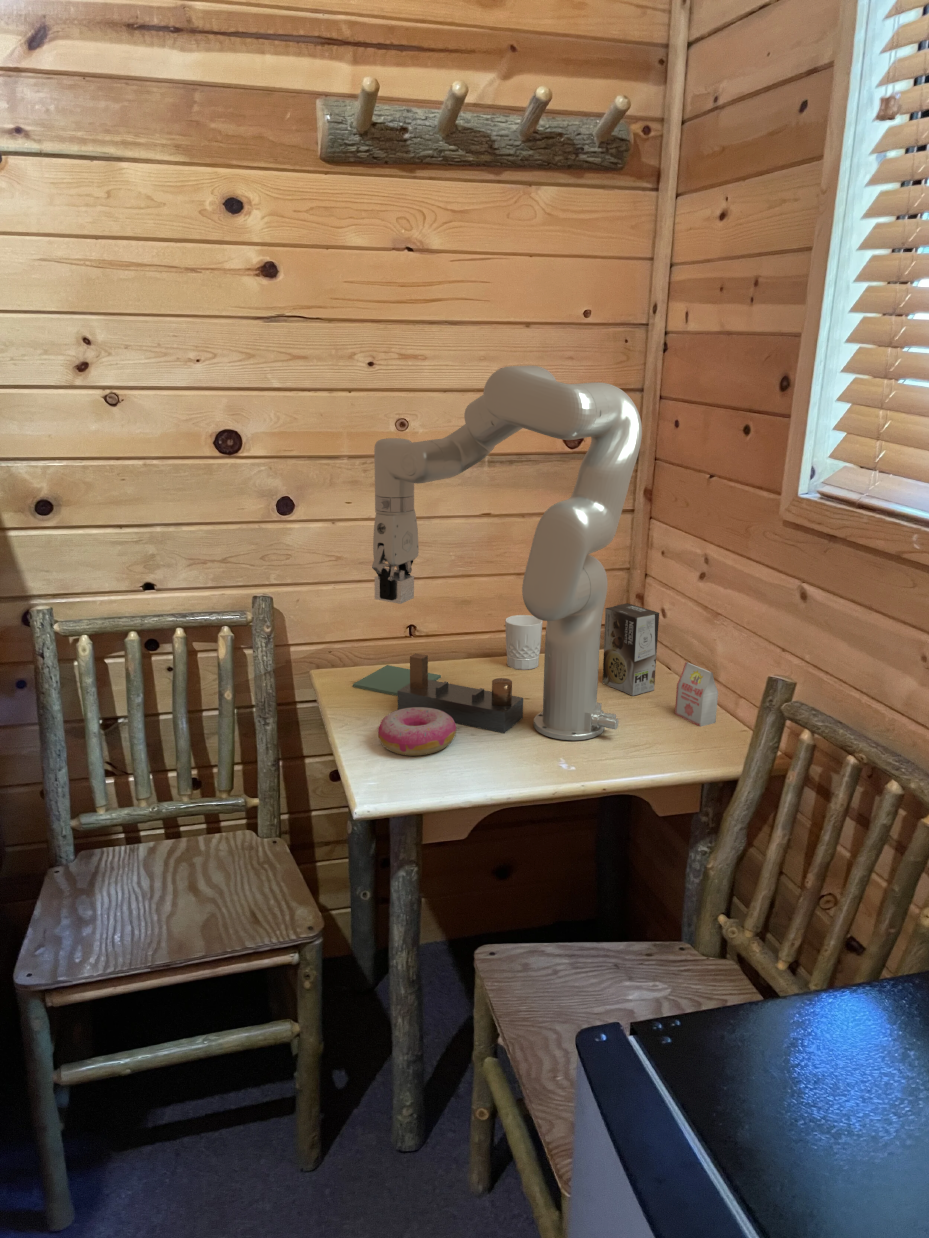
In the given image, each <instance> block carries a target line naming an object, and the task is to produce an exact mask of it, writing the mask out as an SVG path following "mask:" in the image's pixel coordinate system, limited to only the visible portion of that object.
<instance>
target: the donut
mask: <svg viewBox="0 0 929 1238" xmlns="http://www.w3.org/2000/svg"><path fill="white" fill-rule="evenodd" d="M377 729H378V730H377V731H378V732H377V734H378V735H377V736H378V739H379V741H380V743H381V745H382V746H383V747H384V748H385V749H386V750H388V751H390V752H392V753H394V754H398V755H402V756H408V757H409V756H410V757H411V756H412V757H414V756H419V757H420V756H426V755H430V754H434V753H437V752H439V751H441V750H443V749H445V748H446V747H447V746H449V745H450V744H451V743H452V742H453V740H454V738H455V737H456V735H457V734H456V733H457V723H455V722H454V720H453V718H452V717H451V716H450V715H448V714H447V713H445V712H443V711H441V710H437V709H433V708H424V707H413V708H404V709H400V710H398V709H396V710H394V711H392V712H390V713H388V714H386V716H384V717H383V718H382V719H381V721H380V724H379V726H378V728H377Z"/></svg>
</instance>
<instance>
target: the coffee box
mask: <svg viewBox="0 0 929 1238" xmlns="http://www.w3.org/2000/svg"><path fill="white" fill-rule="evenodd" d="M604 608H605V610H604V612H605V613H604V632H603V634H604V635H603V636H604V638H603V659H602V660H603V661H602V662H603V664H602V666H603V667H602V683H601V684H603V685H606V686H608V687H611V688H614V689H616V690H618V691H621V692H623V693H625V694H628V695H631V696H632V697H633V696H637V695H641V694H646V693H648V692H652V691H654V690H655V683H656V667H657V653H658V637H659V636H658V635H659V623H660V621H659V620H660V612H659V611H655V610H651V609H649V608H645V607H641V606H638V605H636V604H635V605H634V604H631V603H628V602H627V603H622V604H617V605H613V606H609V607H604Z"/></svg>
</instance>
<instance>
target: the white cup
mask: <svg viewBox="0 0 929 1238" xmlns="http://www.w3.org/2000/svg"><path fill="white" fill-rule="evenodd" d="M543 623H544V622H543V620H540V619H538V618H536V617H534V616H533V615H526V614H518V615H517V614H516V615H511V616H508V617H506V618H505V625H504V626H505V648H506V649H505V650H506V665H507V666H508V667H509V668H512V669H513V670H514V669H515V670H520V671H524V670H525V671H526V670H533V669H535V668H538V667H539V662H540V660H539V659H540V655H541V646H542V634H543Z"/></svg>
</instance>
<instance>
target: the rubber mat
mask: <svg viewBox="0 0 929 1238" xmlns="http://www.w3.org/2000/svg"><path fill="white" fill-rule="evenodd" d="M441 678H442V675H441V674H437V673H433V672H428V680H434V681H439V680H440V679H441ZM408 684H410V668H405V667H401V666H400V667H399V666H394V665H389V664H387V665H385V666H383V667H381V668H380V669H378V670H375V671H374V672H372V673H370V674H368V675H366V676H364V677H362V678H361V679H359V680H358V681H356V682H353V683H352V687H353V688H357V689H362V690H367V691H372V692H377V693H381V694H384V695H385V694H386V695H390V696H395V697H398V693H397V691H398V690H400V689H401V688H403V687H405V686H406V685H408Z"/></svg>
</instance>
